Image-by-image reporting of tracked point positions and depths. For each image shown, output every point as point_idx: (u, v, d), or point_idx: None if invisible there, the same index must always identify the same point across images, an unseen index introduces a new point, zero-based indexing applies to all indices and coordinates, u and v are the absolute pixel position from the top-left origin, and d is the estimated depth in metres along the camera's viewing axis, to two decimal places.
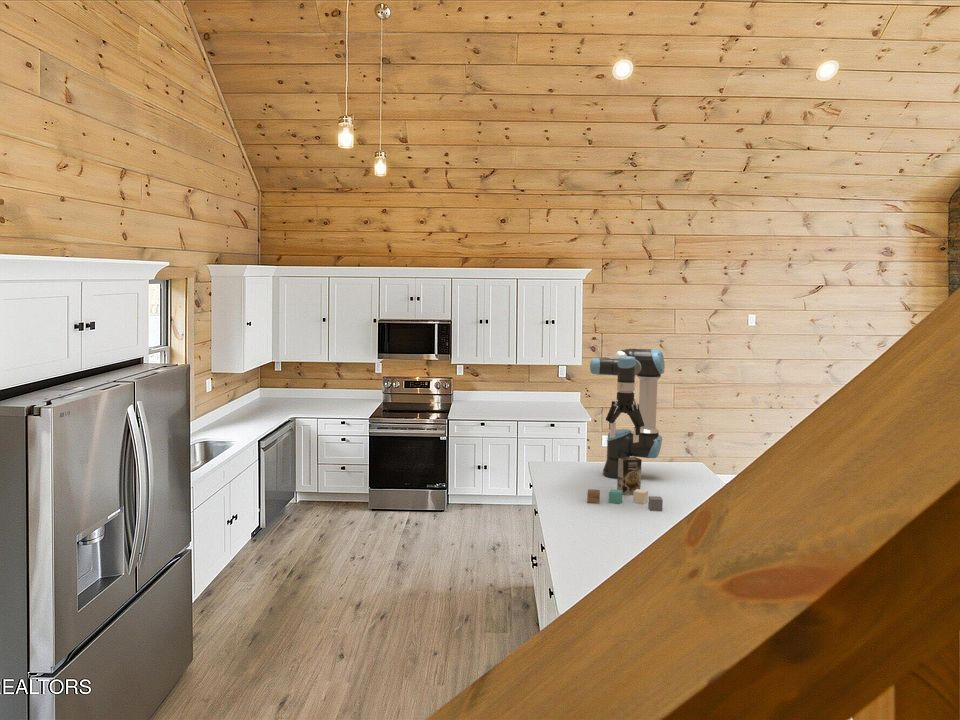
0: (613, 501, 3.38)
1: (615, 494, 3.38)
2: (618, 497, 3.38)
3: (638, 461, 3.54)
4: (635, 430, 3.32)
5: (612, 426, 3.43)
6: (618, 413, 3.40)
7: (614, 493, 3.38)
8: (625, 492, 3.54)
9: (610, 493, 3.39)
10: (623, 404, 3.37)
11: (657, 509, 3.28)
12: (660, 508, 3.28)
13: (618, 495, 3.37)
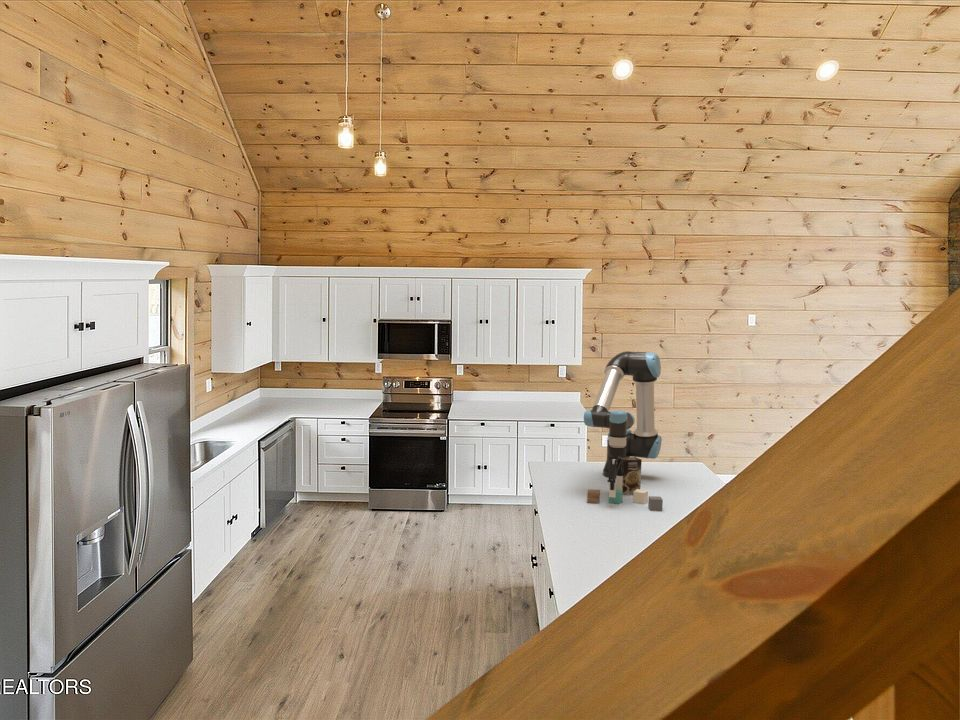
0: (613, 501, 3.38)
1: None
2: (618, 497, 3.38)
3: (638, 461, 3.54)
4: None
5: (617, 479, 3.46)
6: None
7: None
8: (625, 492, 3.54)
9: None
10: None
11: (657, 509, 3.28)
12: (660, 508, 3.28)
13: (618, 495, 3.37)
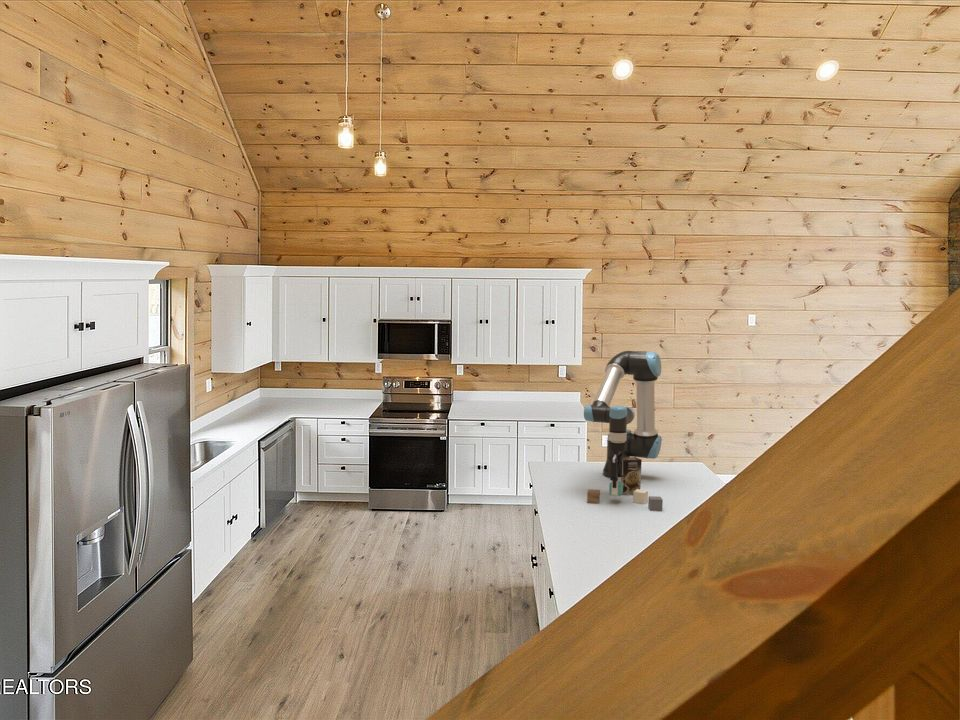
0: None
1: None
2: (618, 489, 3.37)
3: (638, 461, 3.54)
4: (612, 482, 3.38)
5: None
6: None
7: None
8: (625, 492, 3.54)
9: (610, 485, 3.39)
10: None
11: (657, 509, 3.28)
12: (660, 508, 3.28)
13: (618, 487, 3.37)
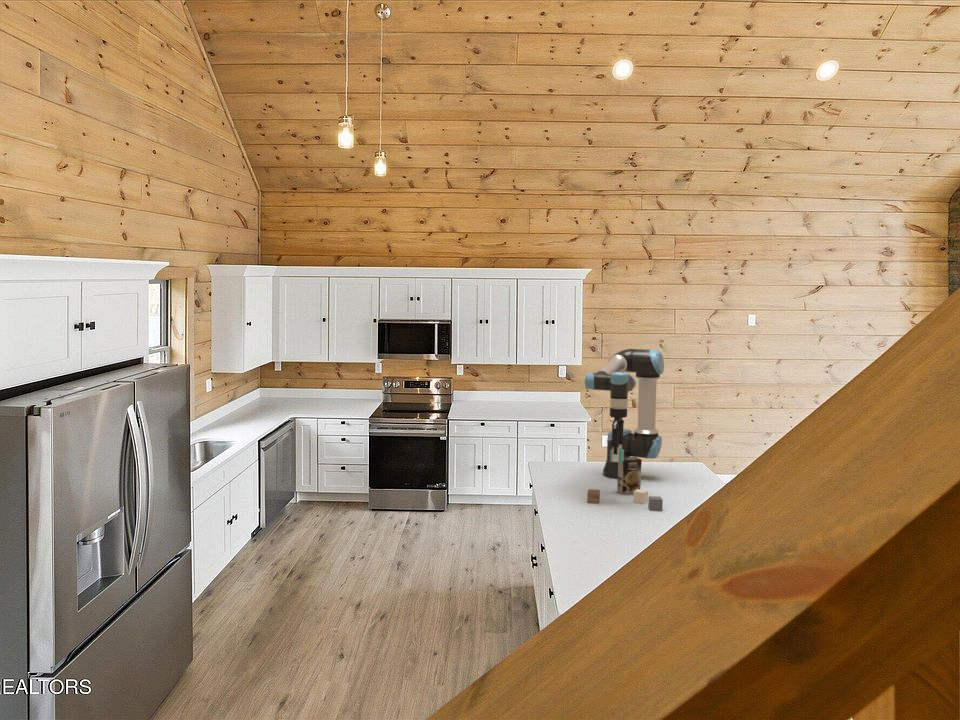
0: None
1: None
2: (619, 456, 3.36)
3: (638, 461, 3.54)
4: (613, 449, 3.36)
5: None
6: None
7: None
8: (625, 492, 3.54)
9: (611, 452, 3.37)
10: None
11: (657, 509, 3.28)
12: (660, 508, 3.28)
13: (619, 453, 3.36)
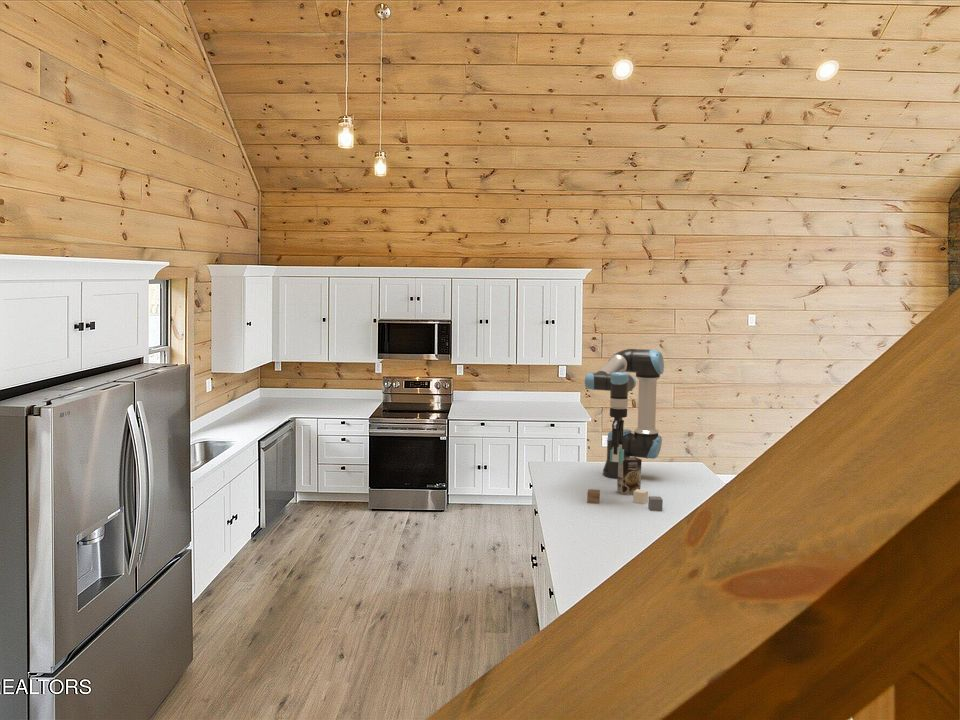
0: None
1: None
2: (619, 456, 3.36)
3: (638, 461, 3.54)
4: (613, 449, 3.36)
5: None
6: None
7: None
8: (625, 492, 3.54)
9: (611, 452, 3.37)
10: None
11: (657, 509, 3.28)
12: (660, 508, 3.28)
13: (619, 453, 3.36)
